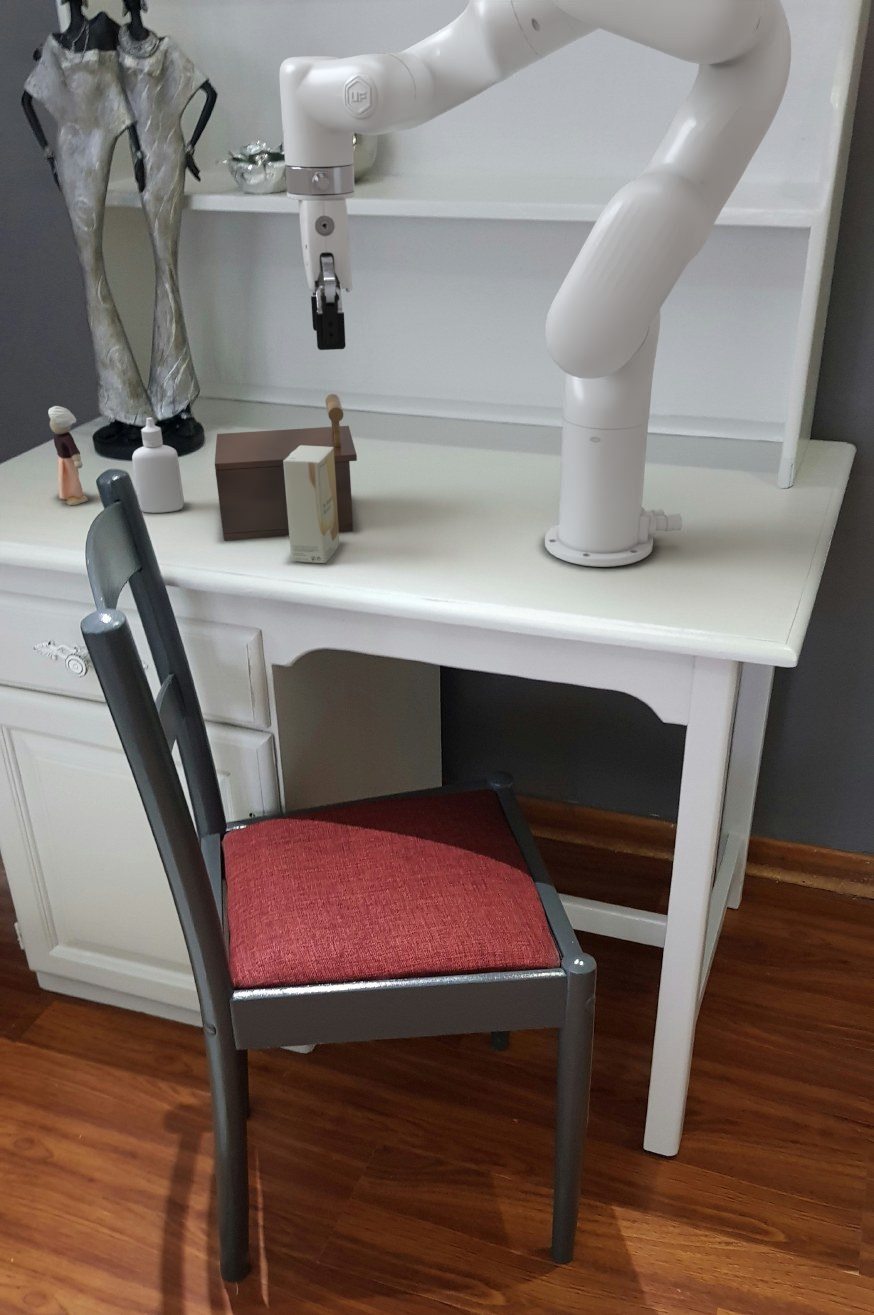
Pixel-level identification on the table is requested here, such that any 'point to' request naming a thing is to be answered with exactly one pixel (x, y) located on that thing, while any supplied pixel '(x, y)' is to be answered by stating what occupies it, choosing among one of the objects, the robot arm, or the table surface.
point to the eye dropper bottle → (157, 473)
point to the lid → (284, 443)
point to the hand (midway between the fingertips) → (328, 339)
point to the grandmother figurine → (66, 456)
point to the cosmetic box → (311, 503)
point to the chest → (269, 501)
